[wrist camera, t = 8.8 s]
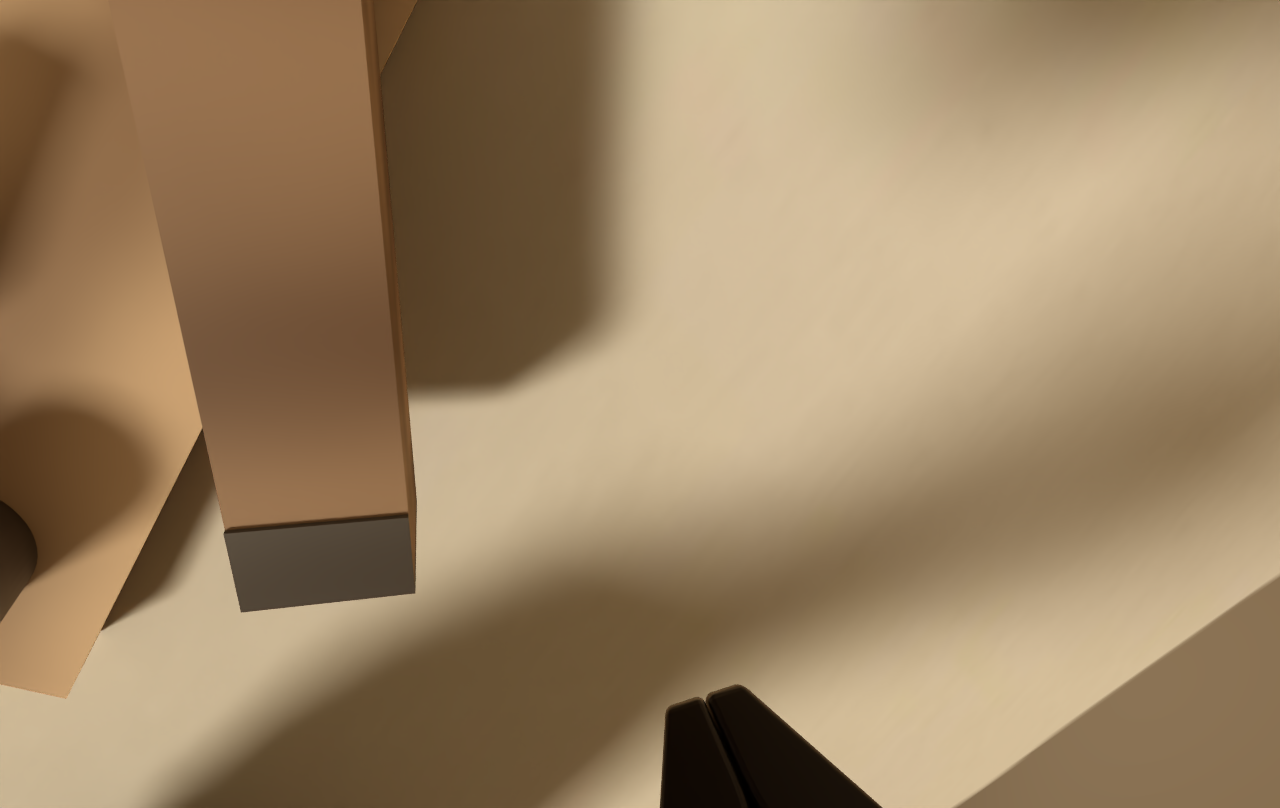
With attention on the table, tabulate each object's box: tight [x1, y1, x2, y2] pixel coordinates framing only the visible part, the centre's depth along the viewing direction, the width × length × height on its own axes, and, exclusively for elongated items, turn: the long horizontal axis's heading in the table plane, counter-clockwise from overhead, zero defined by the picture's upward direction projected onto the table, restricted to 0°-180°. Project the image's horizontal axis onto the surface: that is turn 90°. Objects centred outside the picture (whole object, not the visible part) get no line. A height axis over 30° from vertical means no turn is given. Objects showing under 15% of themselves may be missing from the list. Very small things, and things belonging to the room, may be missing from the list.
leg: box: [108, 0, 417, 612], centre depth 12 cm, size 13×3×3 cm, turn 177°
